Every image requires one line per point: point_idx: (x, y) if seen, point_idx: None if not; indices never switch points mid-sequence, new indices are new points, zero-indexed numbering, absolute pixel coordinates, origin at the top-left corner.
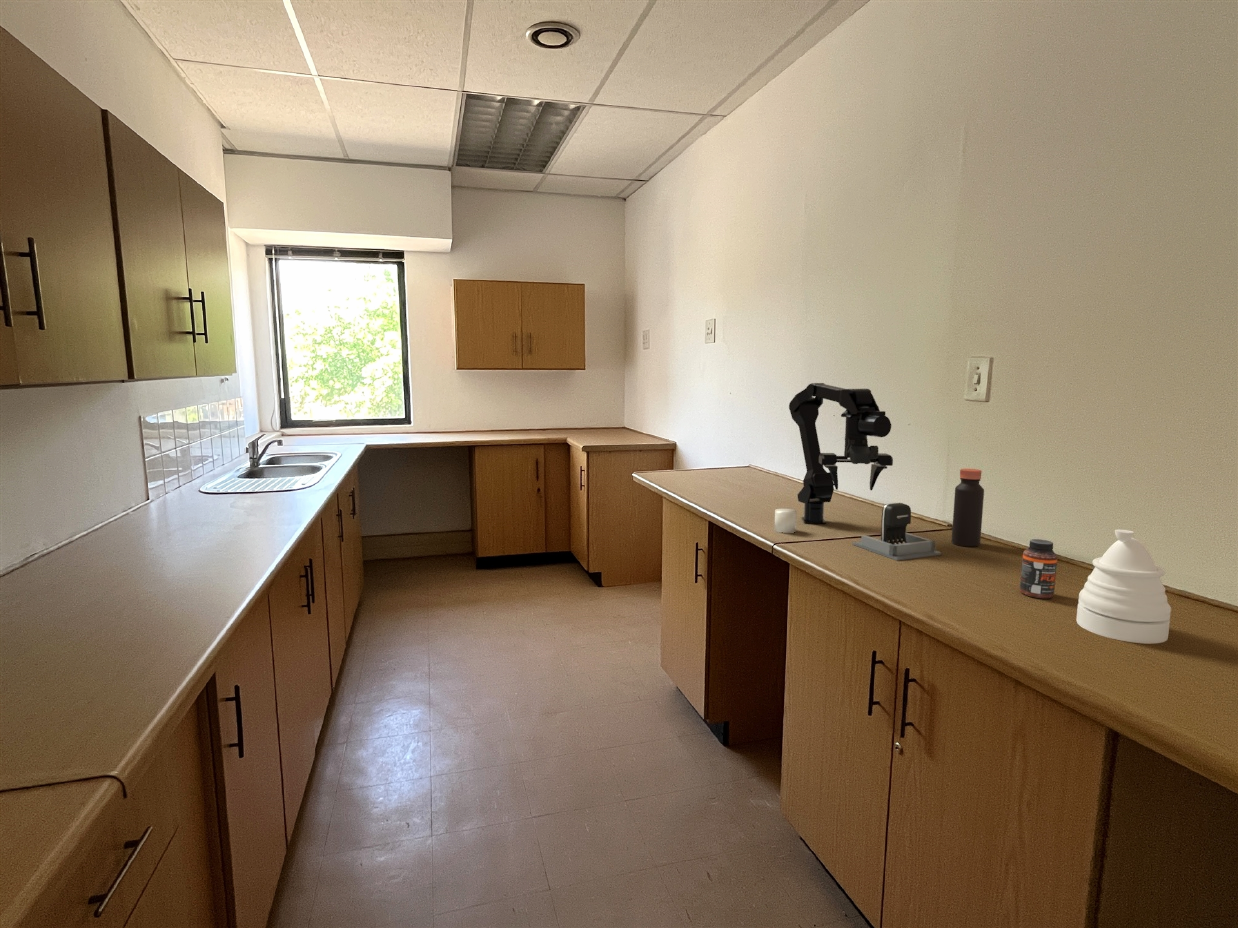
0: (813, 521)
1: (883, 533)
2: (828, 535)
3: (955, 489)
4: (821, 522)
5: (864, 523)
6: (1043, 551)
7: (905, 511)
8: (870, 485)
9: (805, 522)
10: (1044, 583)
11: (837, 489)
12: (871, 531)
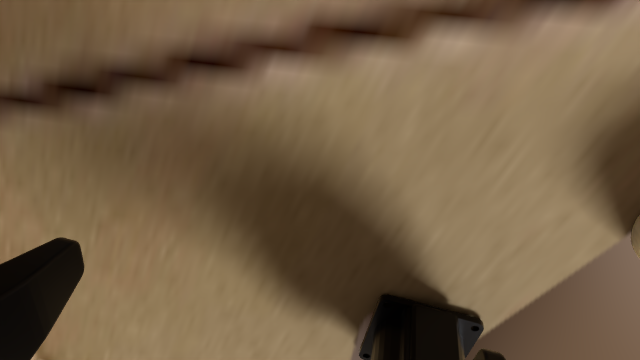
0: (446, 313)
1: None
2: (497, 97)
3: None
4: (403, 303)
5: (201, 270)
6: None
7: None
8: (42, 298)
9: (479, 321)
10: None
11: (486, 350)
12: (209, 144)
